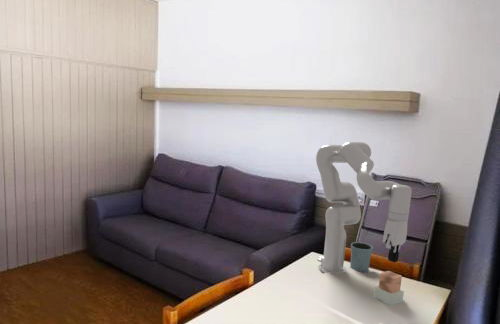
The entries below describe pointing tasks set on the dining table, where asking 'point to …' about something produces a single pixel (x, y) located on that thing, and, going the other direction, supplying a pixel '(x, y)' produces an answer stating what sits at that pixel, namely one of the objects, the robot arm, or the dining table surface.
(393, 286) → the top block
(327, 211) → the robot arm
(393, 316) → the dining table surface
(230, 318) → the dining table surface
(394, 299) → the base block
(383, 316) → the dining table surface
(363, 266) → the teal cup
